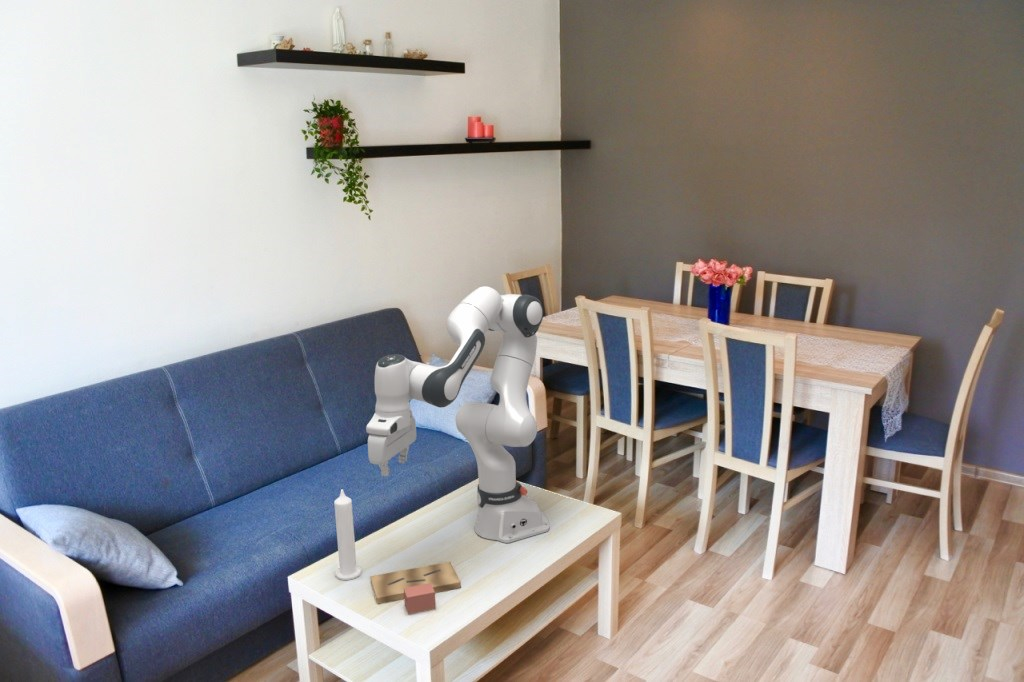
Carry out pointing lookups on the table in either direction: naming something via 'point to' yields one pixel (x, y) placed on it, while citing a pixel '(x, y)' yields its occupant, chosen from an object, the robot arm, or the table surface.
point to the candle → (345, 539)
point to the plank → (414, 581)
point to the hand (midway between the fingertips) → (394, 468)
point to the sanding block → (419, 598)
